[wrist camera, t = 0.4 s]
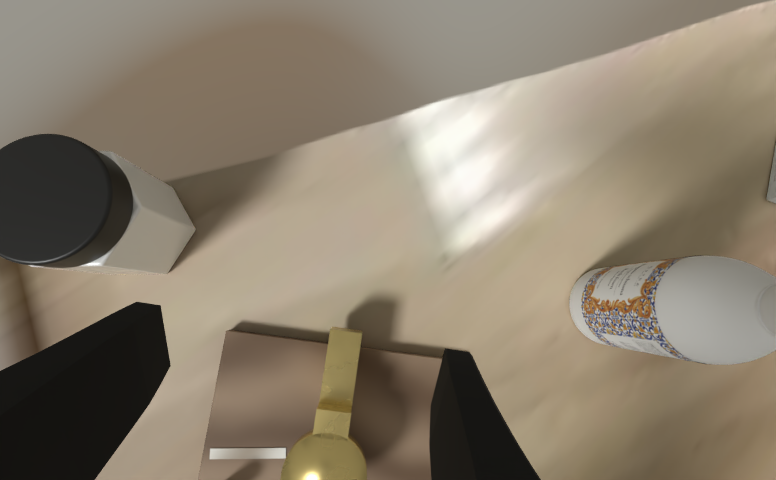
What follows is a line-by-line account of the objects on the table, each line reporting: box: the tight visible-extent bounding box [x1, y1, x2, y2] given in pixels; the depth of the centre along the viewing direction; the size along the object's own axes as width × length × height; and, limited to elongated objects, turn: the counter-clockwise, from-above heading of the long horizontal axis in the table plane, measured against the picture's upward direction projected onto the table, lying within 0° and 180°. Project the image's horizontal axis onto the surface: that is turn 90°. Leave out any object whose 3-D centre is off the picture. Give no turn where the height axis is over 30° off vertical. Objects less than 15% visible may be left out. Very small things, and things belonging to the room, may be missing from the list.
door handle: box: [281, 327, 367, 480], centre depth 32 cm, size 13×6×5 cm, turn 172°
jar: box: [0, 134, 195, 275], centre depth 31 cm, size 9×8×12 cm
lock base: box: [198, 330, 442, 480], centre depth 33 cm, size 17×20×4 cm
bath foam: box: [569, 255, 776, 365], centre depth 28 cm, size 7×7×20 cm
